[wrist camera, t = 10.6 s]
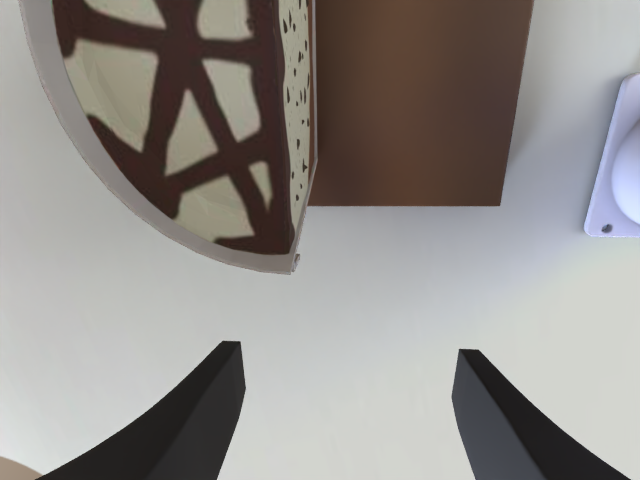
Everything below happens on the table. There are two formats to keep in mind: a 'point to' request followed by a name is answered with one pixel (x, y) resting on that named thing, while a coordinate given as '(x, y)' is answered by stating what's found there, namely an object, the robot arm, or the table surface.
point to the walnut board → (416, 100)
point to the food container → (191, 114)
